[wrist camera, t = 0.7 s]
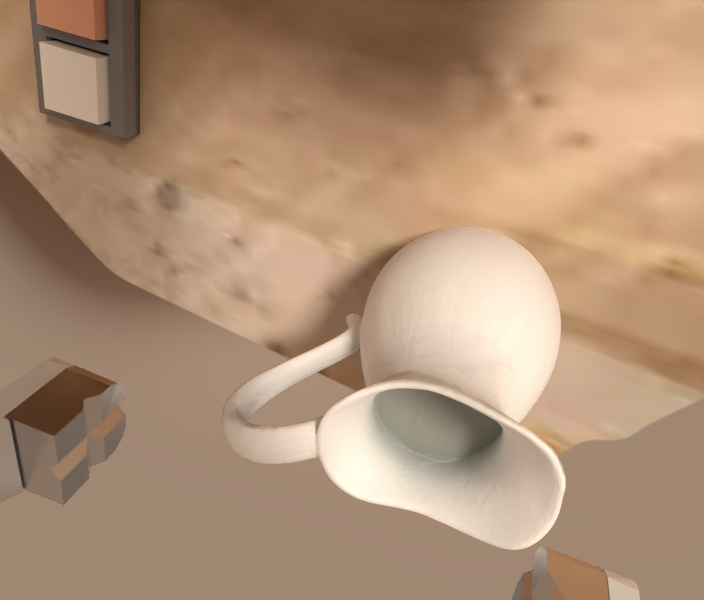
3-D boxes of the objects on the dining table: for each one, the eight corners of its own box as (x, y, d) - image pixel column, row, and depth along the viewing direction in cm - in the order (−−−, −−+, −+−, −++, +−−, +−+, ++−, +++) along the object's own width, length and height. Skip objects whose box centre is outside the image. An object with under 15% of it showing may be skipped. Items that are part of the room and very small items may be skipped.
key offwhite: (55, 40, 56) (39, 41, 54) (110, 56, 55) (95, 58, 53) (60, 104, 59) (44, 107, 57) (112, 120, 58) (98, 124, 56)
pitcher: (567, 206, 50) (589, 385, 27) (549, 360, 58) (553, 605, 34) (321, 199, 57) (167, 336, 34) (334, 338, 65) (216, 528, 41)
